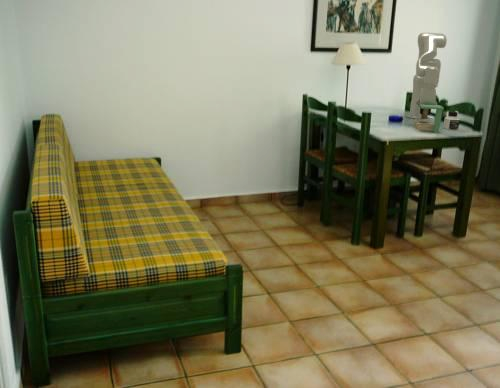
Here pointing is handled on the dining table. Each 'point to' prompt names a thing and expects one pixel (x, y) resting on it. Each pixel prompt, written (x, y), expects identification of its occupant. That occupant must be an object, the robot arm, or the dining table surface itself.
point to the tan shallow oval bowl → (423, 125)
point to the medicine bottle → (451, 121)
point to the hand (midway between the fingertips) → (424, 114)
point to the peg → (425, 113)
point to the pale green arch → (437, 115)
